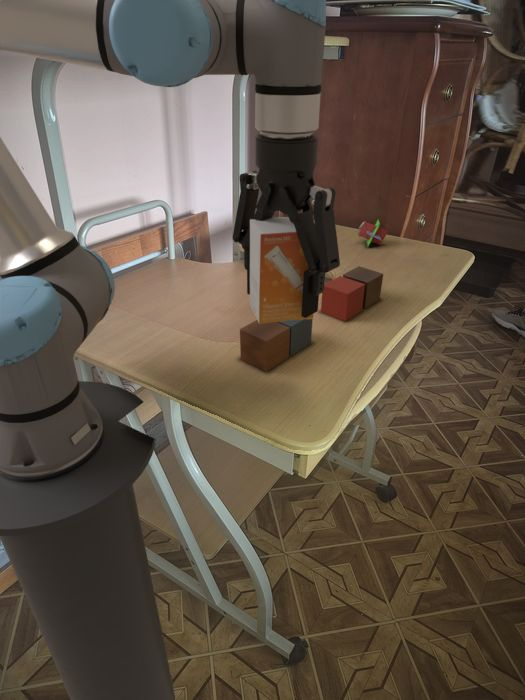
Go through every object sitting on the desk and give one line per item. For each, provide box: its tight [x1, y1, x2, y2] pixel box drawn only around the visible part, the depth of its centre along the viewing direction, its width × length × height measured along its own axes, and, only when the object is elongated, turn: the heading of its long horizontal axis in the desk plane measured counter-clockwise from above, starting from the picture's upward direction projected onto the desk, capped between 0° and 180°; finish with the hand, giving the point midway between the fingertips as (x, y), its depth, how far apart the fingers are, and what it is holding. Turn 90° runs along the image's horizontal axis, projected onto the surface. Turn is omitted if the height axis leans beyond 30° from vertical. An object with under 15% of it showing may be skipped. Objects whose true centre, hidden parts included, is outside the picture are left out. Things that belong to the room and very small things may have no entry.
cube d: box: [342, 265, 384, 310], centre depth 104 cm, size 6×6×6 cm
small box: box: [249, 216, 315, 324], centre depth 68 cm, size 8×6×13 cm
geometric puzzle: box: [357, 218, 389, 247], centre depth 132 cm, size 7×7×8 cm
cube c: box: [320, 275, 365, 322], centre depth 100 cm, size 6×6×6 cm
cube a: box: [239, 319, 290, 373], centre depth 85 cm, size 6×6×6 cm
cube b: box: [278, 318, 314, 357], centre depth 89 cm, size 6×6×6 cm
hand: (281, 302), depth 71 cm, fingers closed on small box, 9 cm apart
